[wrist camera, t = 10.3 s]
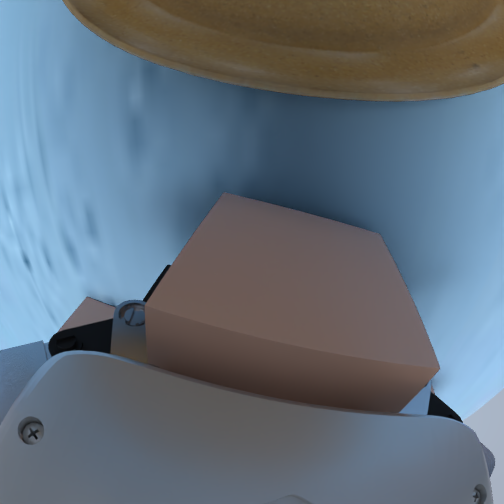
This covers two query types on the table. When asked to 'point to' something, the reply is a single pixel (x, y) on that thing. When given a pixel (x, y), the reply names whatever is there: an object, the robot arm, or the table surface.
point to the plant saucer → (315, 43)
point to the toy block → (290, 311)
